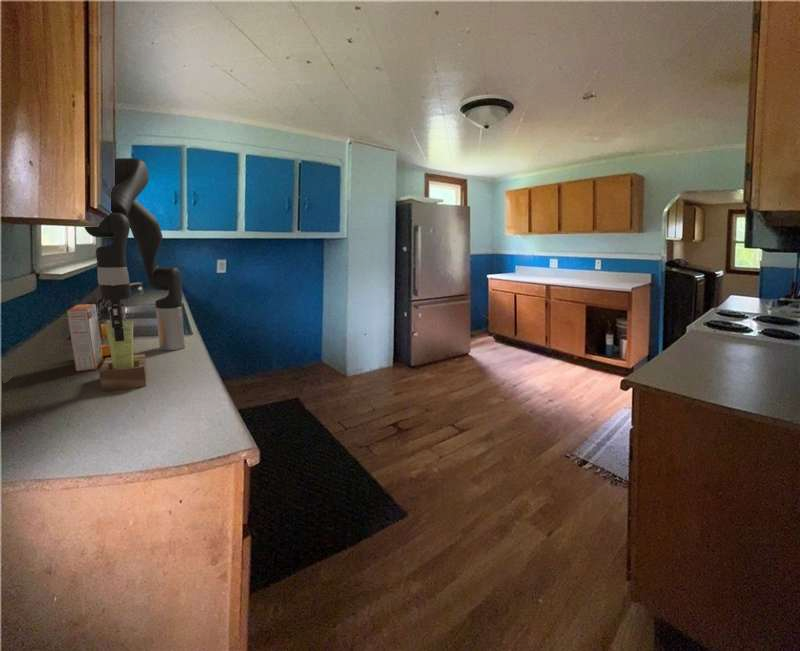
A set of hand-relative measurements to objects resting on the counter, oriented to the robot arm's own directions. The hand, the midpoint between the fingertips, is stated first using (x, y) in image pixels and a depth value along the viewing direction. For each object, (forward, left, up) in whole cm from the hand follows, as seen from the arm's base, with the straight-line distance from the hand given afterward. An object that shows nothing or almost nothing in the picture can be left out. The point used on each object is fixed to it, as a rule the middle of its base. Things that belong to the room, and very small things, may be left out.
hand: (120, 338), depth 123 cm
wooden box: (-3, 0, -14) cm, 15 cm away
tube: (0, 0, -15) cm, 15 cm away
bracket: (-43, -8, -15) cm, 46 cm away
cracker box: (-28, -12, -15) cm, 34 cm away
